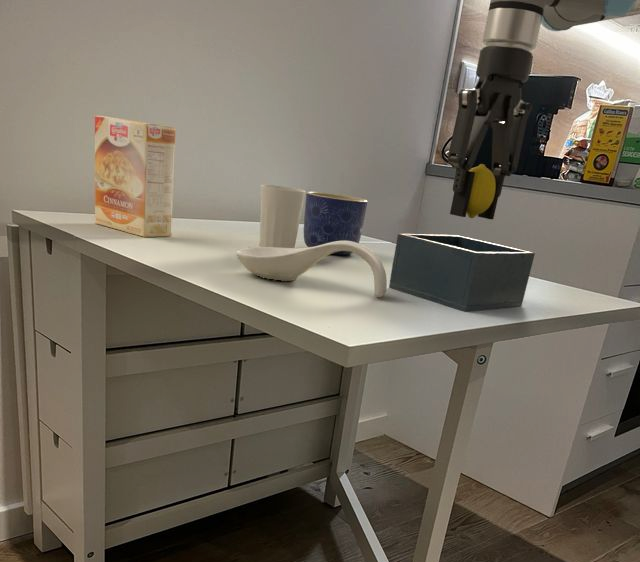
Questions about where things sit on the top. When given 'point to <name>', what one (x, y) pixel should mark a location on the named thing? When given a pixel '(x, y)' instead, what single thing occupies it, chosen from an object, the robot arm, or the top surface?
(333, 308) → the top surface
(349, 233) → the planter
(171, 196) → the coffeecake box
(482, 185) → the lemon
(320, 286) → the top surface
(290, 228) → the cup
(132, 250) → the top surface
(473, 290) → the dark grey open box
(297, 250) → the spoon rest
